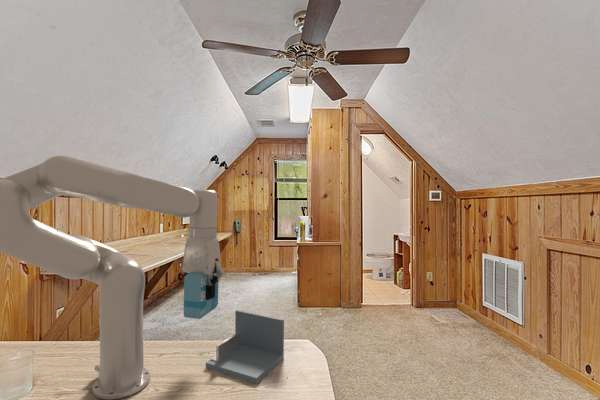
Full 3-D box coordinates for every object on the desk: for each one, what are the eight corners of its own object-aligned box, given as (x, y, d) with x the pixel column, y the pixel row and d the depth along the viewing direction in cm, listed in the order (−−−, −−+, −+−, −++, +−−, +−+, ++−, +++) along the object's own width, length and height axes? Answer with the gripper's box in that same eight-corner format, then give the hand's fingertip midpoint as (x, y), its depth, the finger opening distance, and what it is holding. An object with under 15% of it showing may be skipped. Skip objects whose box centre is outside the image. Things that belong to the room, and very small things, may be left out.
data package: (198, 320, 90) (199, 276, 89) (183, 319, 90) (183, 274, 90) (218, 306, 101) (219, 266, 101) (204, 304, 102) (205, 265, 102)
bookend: (210, 360, 93) (210, 343, 93) (232, 345, 102) (232, 330, 102) (218, 362, 92) (218, 346, 92) (240, 347, 101) (240, 332, 101)
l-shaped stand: (205, 368, 92) (205, 326, 91) (236, 346, 104) (237, 309, 104) (256, 383, 84) (256, 338, 84) (283, 358, 97) (283, 319, 97)
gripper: (170, 232, 96) (169, 295, 96) (218, 237, 88) (216, 305, 89) (190, 230, 103) (188, 289, 103) (235, 234, 95) (234, 298, 95)
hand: (201, 296), depth 96 cm, fingers closed on data package, 5 cm apart
